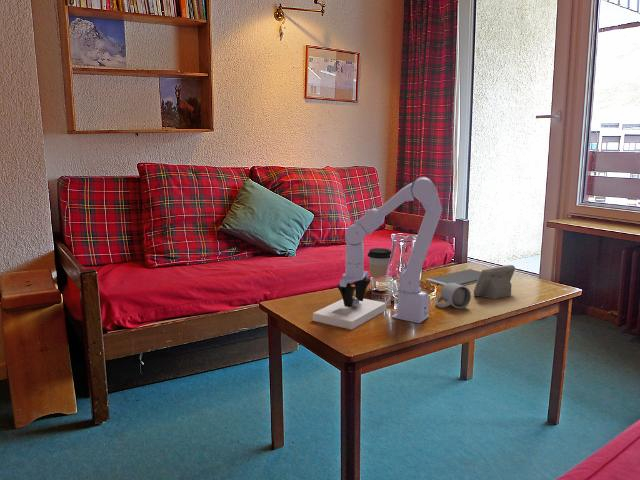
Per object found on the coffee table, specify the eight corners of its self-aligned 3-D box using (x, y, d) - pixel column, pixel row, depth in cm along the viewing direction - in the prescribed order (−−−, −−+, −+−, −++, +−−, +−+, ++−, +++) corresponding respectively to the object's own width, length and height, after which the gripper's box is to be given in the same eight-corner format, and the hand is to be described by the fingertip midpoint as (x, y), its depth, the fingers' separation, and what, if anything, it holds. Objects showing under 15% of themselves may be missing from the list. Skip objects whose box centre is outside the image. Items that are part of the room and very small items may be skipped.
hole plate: (385, 310, 178) (386, 302, 177) (351, 329, 160) (352, 321, 159) (349, 302, 185) (349, 295, 185) (313, 320, 168) (313, 312, 167)
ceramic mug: (457, 300, 189) (458, 279, 187) (471, 307, 181) (472, 285, 179) (430, 304, 185) (431, 282, 184) (443, 311, 178) (444, 288, 176)
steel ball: (358, 307, 169) (355, 311, 172) (362, 298, 171) (358, 302, 174) (348, 302, 169) (345, 307, 172) (352, 293, 171) (349, 298, 174)
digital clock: (505, 289, 202) (507, 262, 200) (520, 296, 194) (523, 267, 192) (467, 293, 197) (469, 265, 195) (482, 300, 189) (484, 271, 187)
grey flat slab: (425, 282, 214) (425, 278, 214) (470, 272, 229) (470, 268, 229) (450, 290, 204) (451, 285, 203) (496, 279, 219) (496, 275, 218)
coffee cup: (391, 294, 196) (392, 253, 193) (365, 292, 198) (366, 252, 195) (392, 287, 205) (394, 248, 202) (368, 285, 207) (368, 247, 204)
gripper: (355, 256, 179) (354, 295, 182) (331, 265, 167) (331, 307, 170) (374, 259, 175) (373, 299, 178) (351, 268, 163) (350, 311, 166)
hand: (353, 303), depth 174 cm, fingers open, 7 cm apart
